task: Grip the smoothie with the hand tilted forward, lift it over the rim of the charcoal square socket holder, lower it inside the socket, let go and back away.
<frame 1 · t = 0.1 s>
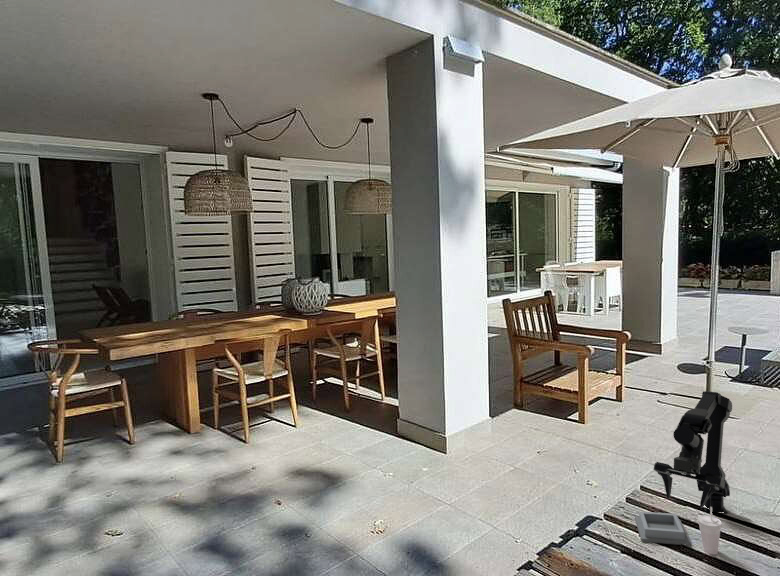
hand: (684, 503, 161), 15 cm above the table, tool tilted 35°, fingers open, 9 cm apart
holder: (661, 531, 172), on the table
smoothie: (710, 551, 160), on the table
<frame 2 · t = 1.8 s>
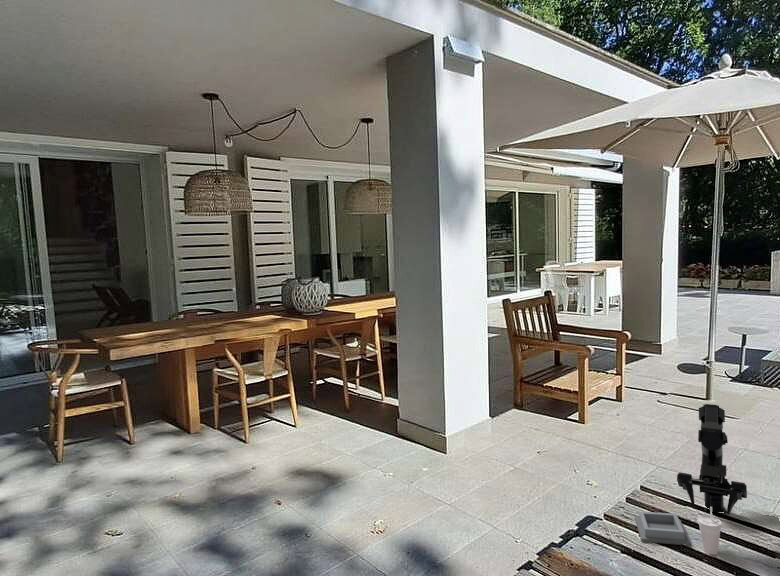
hand: (710, 511, 162), 11 cm above the table, tool tilted 45°, fingers open, 9 cm apart
nothing on the table moved.
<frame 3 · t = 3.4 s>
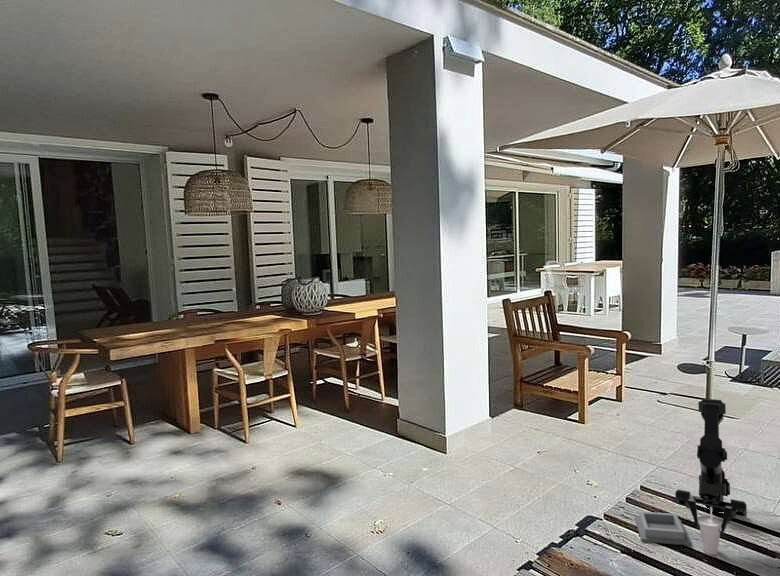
hand: (709, 530, 159), 7 cm above the table, tool tilted 45°, fingers closed on smoothie, 6 cm apart
smoothie: (710, 551, 160), on the table, touching gripper
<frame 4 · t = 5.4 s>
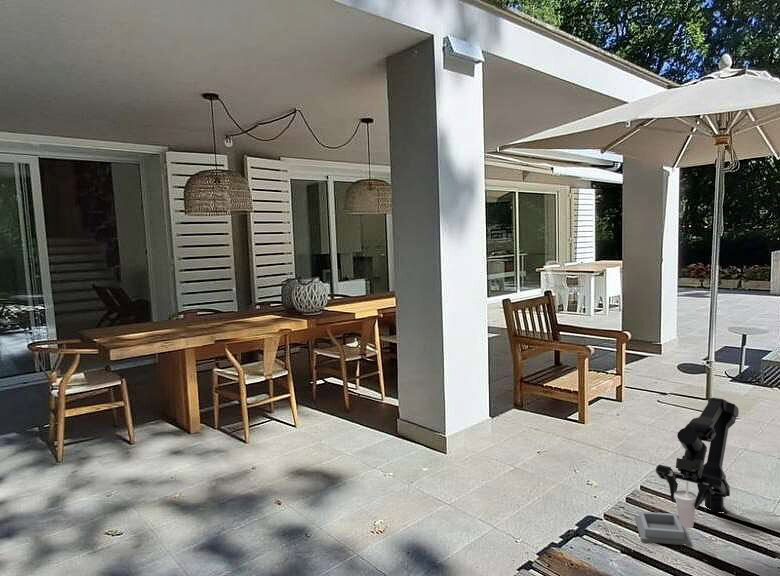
hand: (683, 504, 163), 13 cm above the table, tool tilted 45°, fingers closed on smoothie, 6 cm apart
smoothie: (686, 525, 165), point 6 cm above the table, touching gripper
when the fingers open (9 cm above the table, at t = 7.4 s): smoothie drops 1 cm, resting on holder.
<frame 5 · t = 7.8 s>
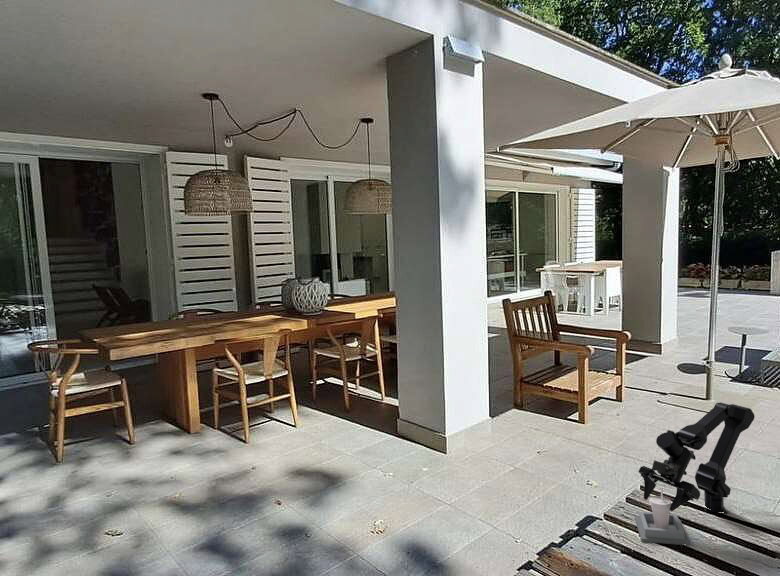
hand: (657, 504, 171), 10 cm above the table, tool tilted 45°, fingers open, 9 cm apart
smoothie: (661, 529, 172), point 1 cm above the table, touching holder
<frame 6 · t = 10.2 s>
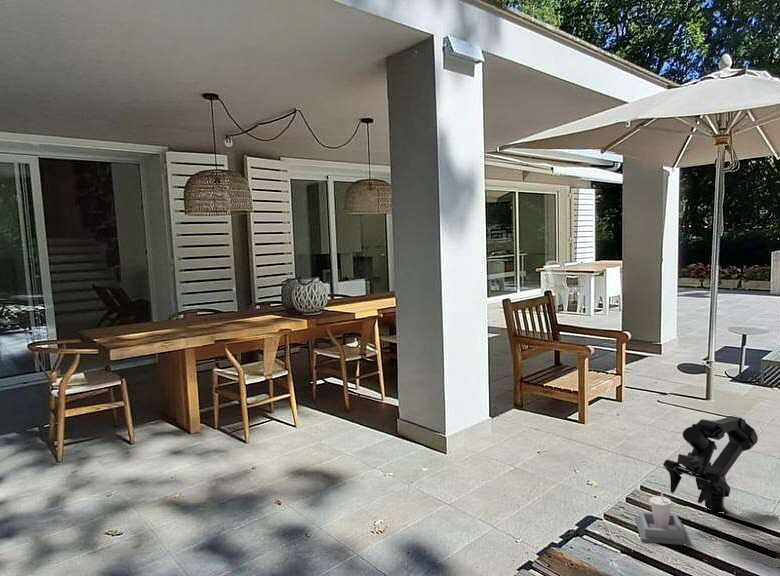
hand: (685, 497, 174), 10 cm above the table, tool tilted 40°, fingers open, 9 cm apart
nothing on the table moved.
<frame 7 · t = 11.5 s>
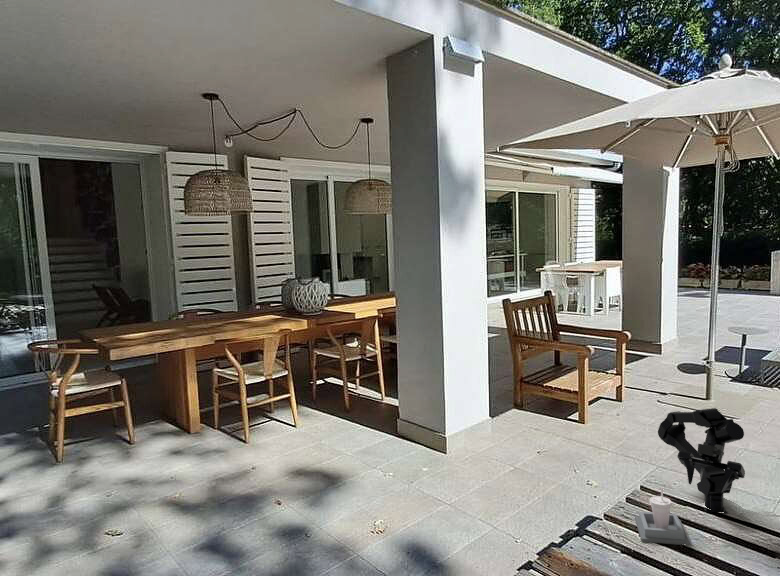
hand: (705, 487, 172), 14 cm above the table, tool tilted 45°, fingers open, 9 cm apart
nothing on the table moved.
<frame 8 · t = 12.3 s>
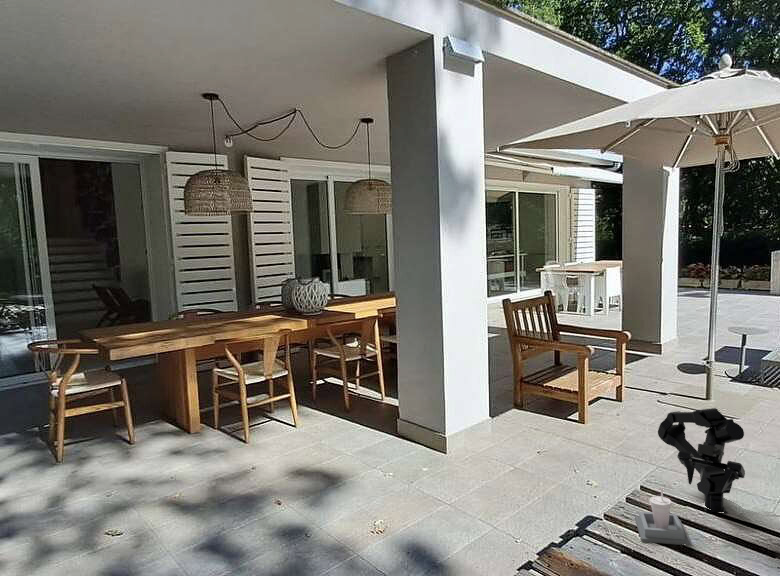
hand: (705, 487, 172), 14 cm above the table, tool tilted 45°, fingers open, 9 cm apart
nothing on the table moved.
at the end: smoothie 0.1 cm off-centre on the holder, point 0.8 cm above the holder's base; smoothie tilted 0°; the gripper is holding nothing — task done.
